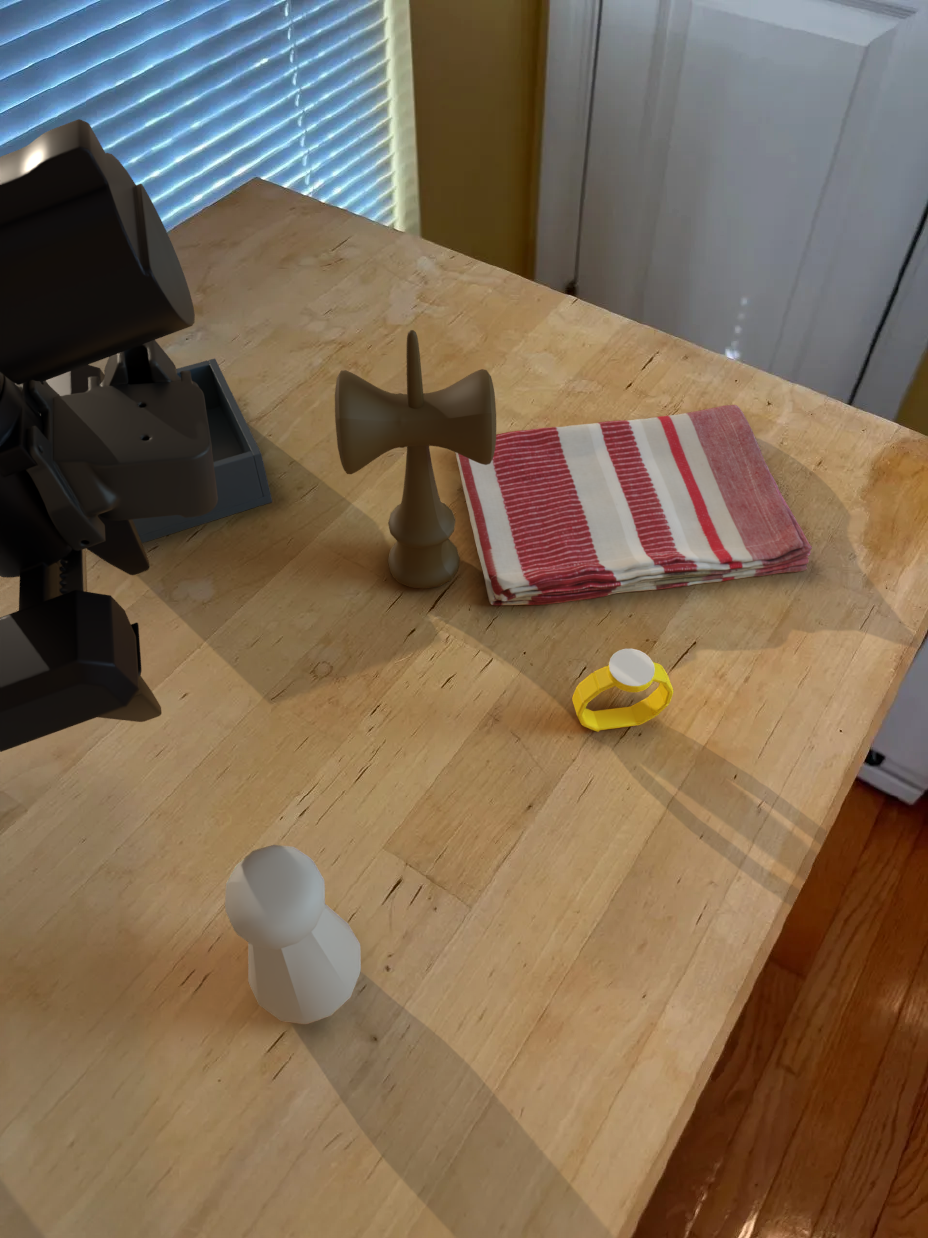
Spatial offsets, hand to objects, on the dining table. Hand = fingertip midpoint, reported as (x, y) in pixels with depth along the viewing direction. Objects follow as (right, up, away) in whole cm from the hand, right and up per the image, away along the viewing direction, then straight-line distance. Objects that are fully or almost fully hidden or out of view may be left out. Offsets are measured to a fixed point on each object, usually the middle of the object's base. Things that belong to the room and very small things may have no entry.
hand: (146, 638), depth 46 cm
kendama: (+13, +5, +21) cm, 25 cm away
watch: (+25, -6, +14) cm, 29 cm away
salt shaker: (+8, -18, +4) cm, 20 cm away
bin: (-7, +12, +27) cm, 31 cm away
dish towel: (+28, +9, +25) cm, 38 cm away
